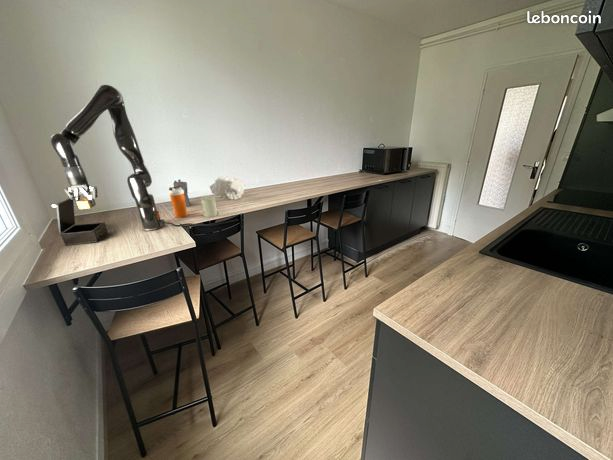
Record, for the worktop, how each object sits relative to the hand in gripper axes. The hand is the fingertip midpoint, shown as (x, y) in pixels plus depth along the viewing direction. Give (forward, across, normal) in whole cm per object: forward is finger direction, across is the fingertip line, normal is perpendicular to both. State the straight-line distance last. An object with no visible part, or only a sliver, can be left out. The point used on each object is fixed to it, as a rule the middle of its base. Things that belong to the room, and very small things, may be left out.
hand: (87, 206), depth 135 cm
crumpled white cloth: (+17, +69, +58) cm, 92 cm away
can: (+17, +58, +20) cm, 64 cm away
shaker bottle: (+17, +39, +23) cm, 49 cm away
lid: (+3, -8, -4) cm, 10 cm away
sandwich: (0, 0, 0) cm, 0 cm away
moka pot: (+18, +36, +47) cm, 62 cm away
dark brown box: (+17, -3, -4) cm, 18 cm away
